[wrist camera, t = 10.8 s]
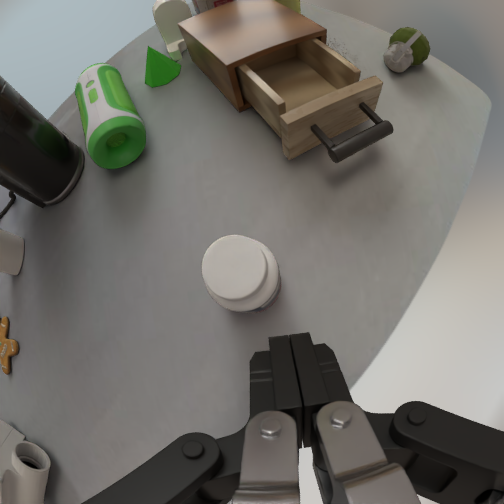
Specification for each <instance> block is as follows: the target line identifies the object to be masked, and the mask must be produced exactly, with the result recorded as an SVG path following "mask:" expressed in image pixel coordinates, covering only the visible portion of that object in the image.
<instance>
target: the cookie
mask: <svg viewBox="0 0 504 504" xmlns="http://www.w3.org/2000/svg"><path fill="white" fill-rule="evenodd" d="M8 329H9V320H8V318H7V317H3V319H2V322H1V319H0V359H1V366H2V370H3V372H4V373H5V374H7V375H8V374H9V373H10V369H11V366H10V357H11V356H14V355H17V353H18V350H19V346H18V343H17V341H15V340H13V339H7V334H8Z"/></svg>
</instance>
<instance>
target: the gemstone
mask: <svg viewBox="0 0 504 504" xmlns="http://www.w3.org/2000/svg"><path fill="white" fill-rule="evenodd" d="M180 69H181V65H180V64H178V63H176V62H175V61H173V60H171V59H170V58H168V57H166V56H165V55H163V54H161V53H159V52H158V51H156V50H154V49H152V48H150V47H149V46H148V52H147V63H146V75H145V84H147V85H149V86H151V87H152V88H153V87H157V86H160V85H165V84H167V83H169V82H170V81H171V80H173V79H174V78H175V77H176V76H178V75H179V73H180Z"/></svg>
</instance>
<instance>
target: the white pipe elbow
mask: <svg viewBox="0 0 504 504" xmlns="http://www.w3.org/2000/svg"><path fill="white" fill-rule="evenodd" d="M49 468H50V459H49V457H48V455H47V454H46V452H45V451H44V450H43V449H42V448H40V447H39V446H38V445H36V444H34V443H31V442H28V441H25V436H24V435H23V434H21V433H20V432H18V431H17V430H15V429H14V428H13V427H11V426H9V425H8V424H7V423H5V422H4V421H2V420H1V419H0V504H44V501H45V500H44V494H45V488H46V483H47V481H48V473H49Z"/></svg>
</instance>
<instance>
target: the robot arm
mask: <svg viewBox="0 0 504 504" xmlns="http://www.w3.org/2000/svg"><path fill="white" fill-rule="evenodd" d="M62 132H63V131H62ZM63 133H64V132H63ZM83 164H84V155H83V152H82V150H81V149H80V148H79V147H78V146H77V145H76V144H74V143H73V142H72V141H70V139H69V138H68V137H67V135H66V134H65V133H64V134H62V133H61V132H60V131H59V130H58V129H57V128H56V127H55V126H54V125H52V124H51V123H50V122H49V121H48V120H47V119H46V118H45V117H44V116H43V115H42V114H40V113H39V112H38V111H37V110H36V109H35V108H34V107H33V106H32V105H31V104H30V103H29V102H27V101H26V100H25V99H24V98H23V97H22V96H21V95H20V94H19V93H18V92H17V91H16V90H15V89H14V88H13V87H12V86H11V85H10V84H8V83H7V82H6V81H5V80H4V79H3V78H2V77H1V76H0V185H2V186H3V187H5V188H7V189H9V190H10V192H9V197H10V198H12V199H11V200H10V202H9V203H8V205H7V206H6V207H5V208H4V210H3V211H2V212H1V213H0V219H1V218H2V217H3V215H4V214H5V213H6V212H7V210H8V209H9V208H10V207H11V205H12V204H13V203H14V201H15V199H16V195H15V194H14V193H16V194H18V195H19V196H21V197H23V198H25V199H26V200H28V201H30V202H32V203H34V204H36V205H37V206H39V207H41V208H44V207H45V206H46V205H53V204H56V203H58V202H60V201H61V200H62V199H64V198H65V197H66V196H67V195H68V194H69V193H70V191H71V190H72V189H73V187H74V186H75V184H76V183H77V181H78V179H79V177H80V174H81V172H82V168H83ZM268 338H269V347H270V351H261V352H255V354H254V355H253V357H252V359H251V360H250V417H249V420H248V422H247V424H246V425H245V426H244V427H243V428H242V429H241V430H240V431H238V432H236V433H235V434H232V435H229V436H226V437H222V438H219V439H214V438H213V437H211V436H210V435H207V434H204V433H197V432H195V433H188V434H185V435H182V436H180V437H179V438H177V439H176V440H175V441H173V442H172V443H171V444H169V445H168V446H167V447H166V448H164V449H163V450H162V451H160V452H159V453H157V454H156V455H155V456H153V457H152V458H151V459H149V460H148V461H146V462H145V463H144V464H142V465H141V466H139V467H138V468H137V469H135V470H134V471H132V472H131V473H129V474H128V475H126V476H125V477H123V478H122V479H120V480H119V481H117V482H116V483H114V484H113V485H111V486H110V487H108V488H106V489H105V490H103V491H102V492H100V493H98V494H97V495H95V496H93V497H92V498H90V499H88V500H87V501H85V502H83V503H81V504H227V503H228V502H229V501H230V500H231V499H232V504H300V489H299V474H298V473H299V472H298V465H299V449H300V448H302V440H303V445H304V448H306V447H311V448H312V453H313V469H314V472H315V476H316V479H317V483H318V486H319V490H320V494H321V497H322V501H323V504H421V502H420V500H419V498H418V496H417V494H418V495H420V496H422V497H425V498H427V499H430V500H432V501H434V502H437V503H439V504H504V432H503V431H500V430H497V429H494V428H491V427H488V426H485V425H483V424H480V423H477V422H474V421H471V420H469V419H466V418H463V417H460V416H458V415H455V414H453V413H450V412H447V411H445V410H442V409H440V408H437V407H435V406H432V405H430V404H427V403H424V402H420V401H411V402H407V403H405V404H403V405H402V406H400V407H399V408H398V409H397V410H396V412H395V413H390V414H389V413H387V414H386V413H385V414H378V413H370V412H366V411H364V410H362V408H360V406H358V405H357V404H355V403H354V402H353V400H352V398H351V395H350V392H349V390H348V387H347V384H346V382H345V379H344V377H343V374H342V372H341V370H340V367H339V364H338V362H337V359H336V357H335V354H334V352H333V350H332V349H330V348H329V347H328V346H327V345H326V344H325V343H323V344H317V345H313V343H312V340H311V337H310V334H309V332H307V333H299V334H292V335H289V337H288V335H284V336H275V337H268Z"/></svg>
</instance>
